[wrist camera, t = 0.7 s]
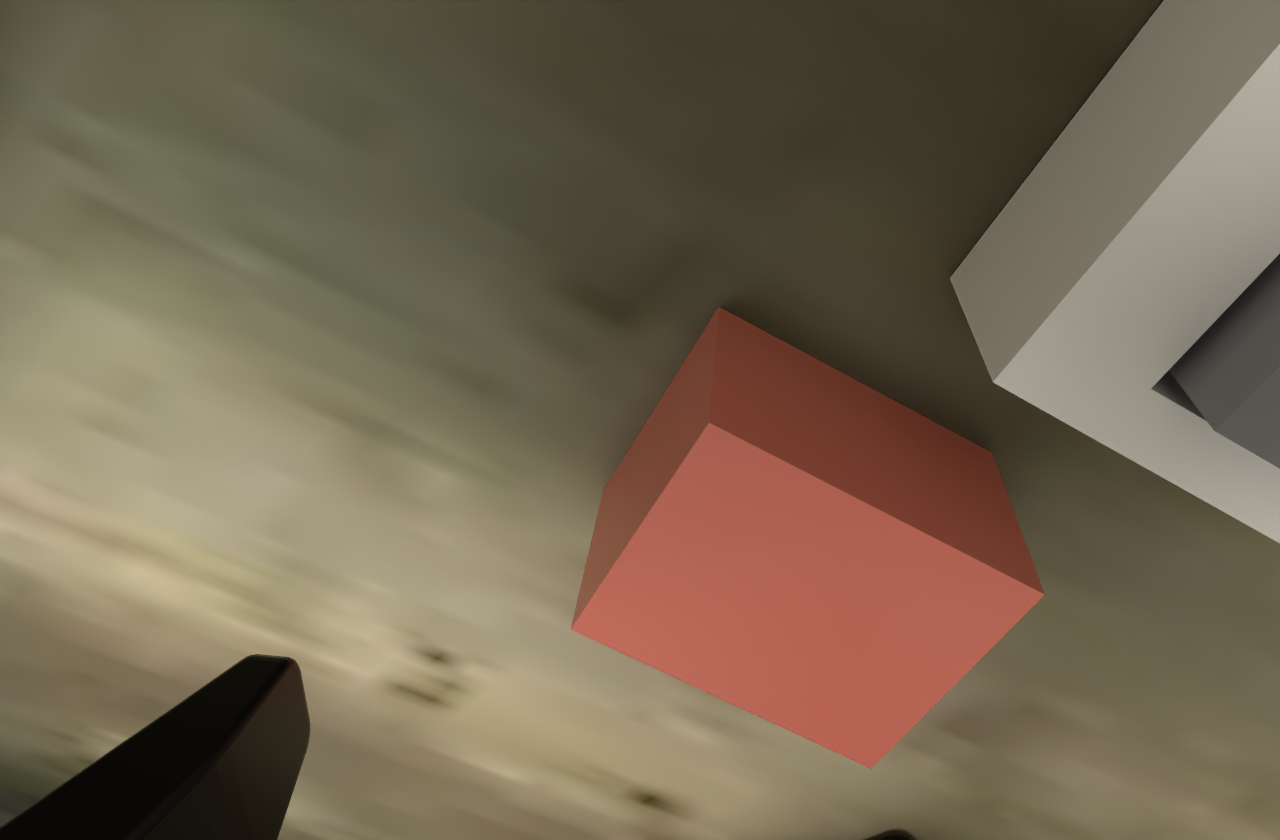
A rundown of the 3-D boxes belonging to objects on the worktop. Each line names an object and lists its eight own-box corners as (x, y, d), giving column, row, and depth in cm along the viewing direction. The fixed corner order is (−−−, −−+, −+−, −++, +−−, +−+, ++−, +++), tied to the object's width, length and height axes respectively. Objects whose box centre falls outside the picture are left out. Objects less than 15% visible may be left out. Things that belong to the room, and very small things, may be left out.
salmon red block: (990, 449, 23) (1044, 594, 18) (852, 609, 25) (871, 768, 21) (718, 304, 22) (709, 422, 17) (604, 487, 24) (570, 629, 20)
